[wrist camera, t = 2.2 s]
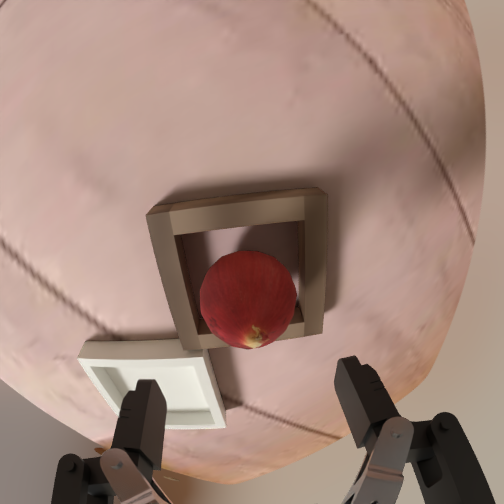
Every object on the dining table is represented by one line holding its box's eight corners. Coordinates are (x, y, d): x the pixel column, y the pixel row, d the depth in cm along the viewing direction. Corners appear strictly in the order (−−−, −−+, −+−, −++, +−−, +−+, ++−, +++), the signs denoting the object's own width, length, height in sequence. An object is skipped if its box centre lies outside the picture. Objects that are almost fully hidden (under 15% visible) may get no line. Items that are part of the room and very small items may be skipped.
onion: (263, 310, 22) (279, 390, 15) (193, 289, 21) (181, 370, 13) (296, 247, 20) (333, 317, 13) (220, 219, 18) (216, 283, 11)
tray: (204, 336, 23) (202, 356, 20) (225, 410, 28) (226, 427, 26) (85, 341, 22) (76, 358, 20) (129, 411, 27) (126, 426, 25)
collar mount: (317, 187, 18) (327, 194, 16) (315, 318, 23) (322, 333, 21) (153, 206, 18) (145, 215, 16) (185, 333, 22) (183, 350, 21)
